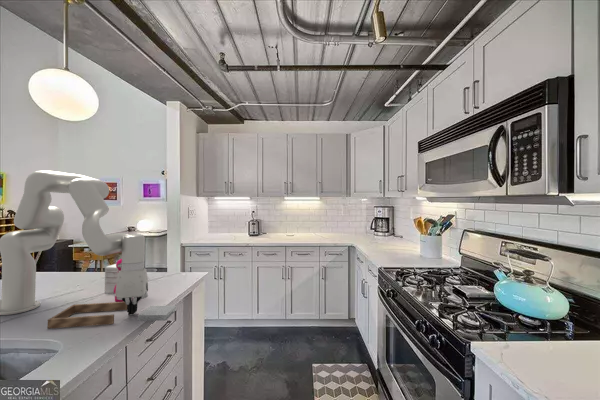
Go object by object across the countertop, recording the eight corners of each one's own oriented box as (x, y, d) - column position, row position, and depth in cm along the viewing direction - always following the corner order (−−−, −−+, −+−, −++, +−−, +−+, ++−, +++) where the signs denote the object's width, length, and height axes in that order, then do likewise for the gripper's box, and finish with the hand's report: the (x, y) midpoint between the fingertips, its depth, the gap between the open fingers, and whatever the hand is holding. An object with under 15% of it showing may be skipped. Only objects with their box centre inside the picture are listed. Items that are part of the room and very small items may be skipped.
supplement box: (115, 288, 134) (115, 263, 135) (129, 288, 134) (129, 263, 134) (103, 293, 127) (104, 266, 127) (118, 293, 127) (119, 267, 127)
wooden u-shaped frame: (47, 328, 91) (47, 319, 91) (73, 312, 105) (73, 304, 105) (112, 324, 96) (112, 315, 96) (129, 308, 109) (129, 301, 109)
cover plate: (138, 321, 99) (138, 315, 99) (150, 312, 108) (150, 305, 108) (165, 321, 99) (165, 315, 99) (175, 311, 108) (175, 305, 108)
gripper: (106, 269, 98) (105, 319, 98) (150, 268, 101) (149, 316, 101) (116, 264, 106) (115, 311, 105) (157, 263, 109) (156, 308, 108)
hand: (132, 313), depth 103 cm, fingers closed
